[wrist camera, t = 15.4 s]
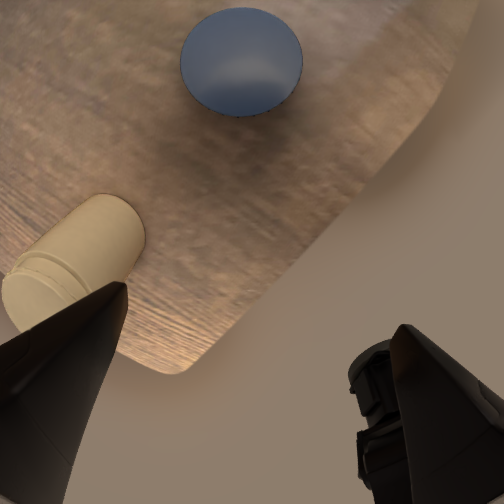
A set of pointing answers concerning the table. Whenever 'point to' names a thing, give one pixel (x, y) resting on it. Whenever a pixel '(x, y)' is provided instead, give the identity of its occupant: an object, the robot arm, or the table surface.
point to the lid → (241, 62)
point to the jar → (73, 260)
